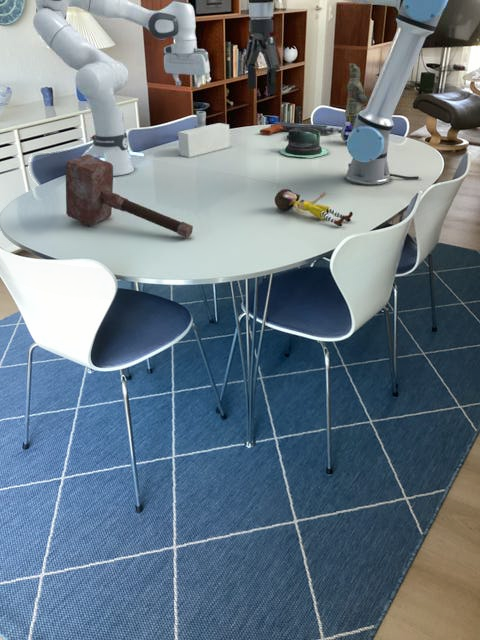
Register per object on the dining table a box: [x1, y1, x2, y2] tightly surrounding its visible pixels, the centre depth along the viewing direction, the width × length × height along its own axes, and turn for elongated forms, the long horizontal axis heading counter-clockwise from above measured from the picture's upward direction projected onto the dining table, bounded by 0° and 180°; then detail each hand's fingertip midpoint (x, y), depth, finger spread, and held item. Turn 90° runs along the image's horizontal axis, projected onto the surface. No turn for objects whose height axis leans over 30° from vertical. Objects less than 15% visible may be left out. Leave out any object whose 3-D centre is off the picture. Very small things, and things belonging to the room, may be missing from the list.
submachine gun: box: [259, 121, 335, 140], centre depth 264 cm, size 32×3×25 cm
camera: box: [193, 110, 207, 129], centre depth 257 cm, size 9×12×15 cm
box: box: [177, 122, 231, 158], centre depth 239 cm, size 24×6×10 cm, turn 135°
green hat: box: [279, 128, 328, 159], centre depth 234 cm, size 15×19×20 cm
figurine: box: [274, 188, 354, 227], centre depth 167 cm, size 13×8×25 cm
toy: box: [338, 121, 353, 142], centre depth 244 cm, size 9×9×15 cm
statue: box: [344, 62, 368, 127], centre depth 262 cm, size 11×9×30 cm
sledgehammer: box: [65, 154, 194, 239], centre depth 159 cm, size 17×10×40 cm
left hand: (188, 86), depth 223 cm, fingers open, 8 cm apart
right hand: (261, 91), depth 184 cm, fingers open, 13 cm apart
